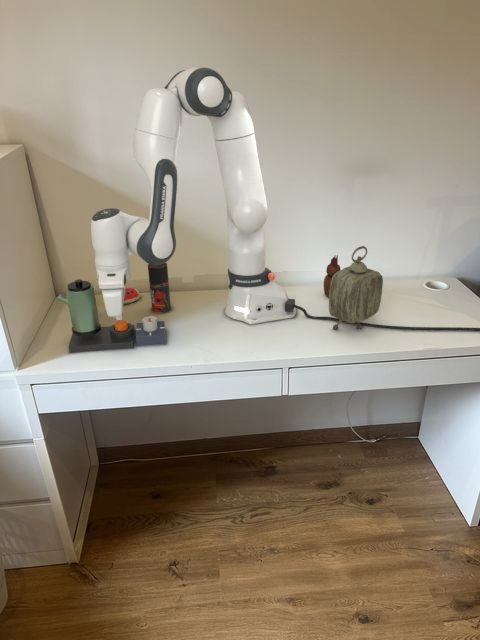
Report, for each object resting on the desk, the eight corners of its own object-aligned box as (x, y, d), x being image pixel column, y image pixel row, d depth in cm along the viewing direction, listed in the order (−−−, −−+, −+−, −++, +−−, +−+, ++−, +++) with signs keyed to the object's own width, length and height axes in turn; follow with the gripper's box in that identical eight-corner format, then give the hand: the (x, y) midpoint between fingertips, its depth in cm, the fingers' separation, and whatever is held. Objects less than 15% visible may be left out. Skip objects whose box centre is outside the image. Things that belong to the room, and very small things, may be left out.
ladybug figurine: (145, 297, 182) (144, 287, 181) (123, 307, 175) (122, 297, 173) (130, 293, 186) (129, 283, 184) (109, 303, 178) (107, 293, 177)
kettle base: (135, 330, 161) (133, 318, 159) (133, 348, 152) (132, 335, 150) (75, 334, 159) (72, 322, 157) (69, 353, 149) (67, 340, 147)
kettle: (102, 319, 159) (95, 271, 151) (99, 335, 150) (91, 285, 143) (66, 321, 157) (57, 273, 150) (61, 338, 148) (51, 287, 141)
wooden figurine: (341, 300, 182) (344, 257, 174) (323, 299, 182) (326, 256, 174) (338, 292, 188) (342, 250, 180) (322, 291, 188) (324, 250, 180)
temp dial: (143, 326, 157) (141, 315, 155) (157, 324, 158) (156, 314, 156) (143, 332, 154) (142, 321, 152) (157, 331, 154) (156, 320, 153)
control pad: (165, 330, 162) (164, 320, 160) (166, 344, 154) (165, 334, 152) (137, 332, 160) (136, 322, 159) (136, 346, 153) (135, 336, 151)
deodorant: (174, 307, 176) (170, 263, 168) (164, 314, 171) (159, 269, 164) (159, 304, 178) (154, 260, 171) (148, 311, 173) (143, 266, 166)
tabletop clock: (356, 315, 171) (363, 238, 159) (380, 324, 166) (389, 245, 153) (326, 329, 162) (332, 249, 150) (350, 340, 157) (358, 257, 144)
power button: (128, 325, 156) (127, 319, 155) (127, 331, 153) (127, 325, 152) (115, 326, 155) (114, 320, 155) (114, 332, 152) (113, 325, 151)
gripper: (104, 258, 154) (110, 303, 161) (97, 285, 137) (104, 334, 143) (127, 257, 155) (132, 302, 162) (123, 284, 138) (129, 333, 144)
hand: (119, 317), depth 153 cm, fingers closed
